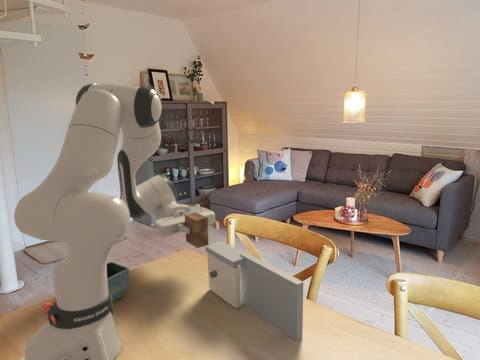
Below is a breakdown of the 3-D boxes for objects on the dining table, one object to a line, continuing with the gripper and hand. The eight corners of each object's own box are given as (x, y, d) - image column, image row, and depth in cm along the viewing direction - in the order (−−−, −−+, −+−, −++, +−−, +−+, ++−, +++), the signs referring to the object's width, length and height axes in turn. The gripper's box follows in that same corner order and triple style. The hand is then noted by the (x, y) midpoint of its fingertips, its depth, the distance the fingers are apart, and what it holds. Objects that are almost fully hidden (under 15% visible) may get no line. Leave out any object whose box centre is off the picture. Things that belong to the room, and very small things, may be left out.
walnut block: (197, 248, 114) (196, 220, 112) (186, 241, 119) (184, 214, 117) (208, 244, 116) (207, 217, 114) (196, 238, 121) (195, 211, 119)
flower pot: (89, 300, 110) (85, 272, 108) (114, 287, 117) (111, 261, 115) (107, 309, 105) (104, 280, 103) (132, 295, 112) (129, 268, 110)
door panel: (232, 310, 103) (231, 270, 100) (205, 290, 114) (203, 253, 111) (240, 306, 104) (239, 267, 102) (213, 287, 115) (211, 251, 113)
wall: (285, 347, 88) (285, 290, 84) (207, 290, 114) (204, 244, 111) (302, 337, 91) (303, 281, 88) (223, 284, 118) (221, 239, 114)
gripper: (147, 215, 120) (166, 227, 109) (201, 202, 132) (224, 212, 121) (148, 233, 121) (168, 247, 110) (202, 219, 133) (224, 230, 122)
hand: (198, 228), depth 116 cm, fingers closed on walnut block, 4 cm apart
